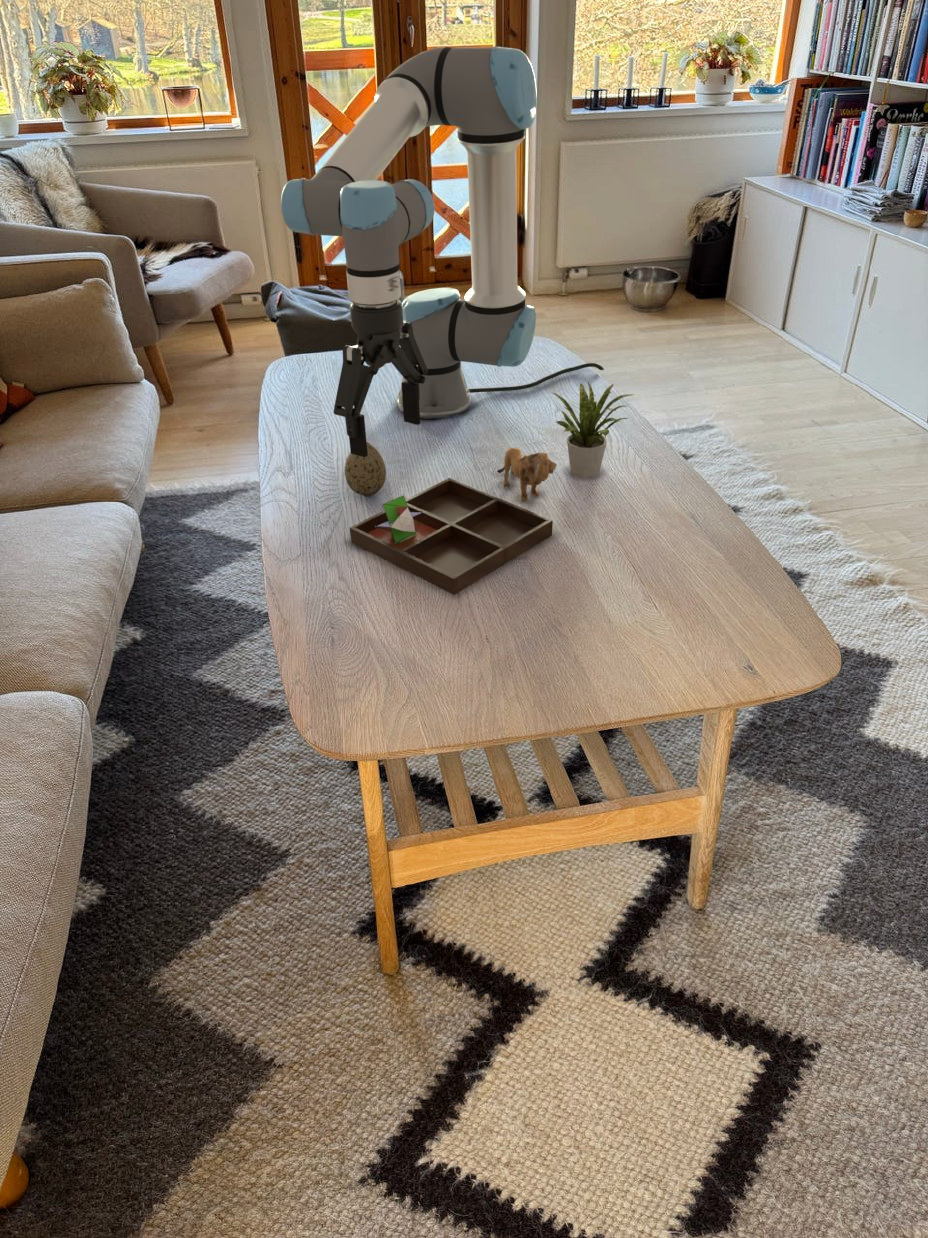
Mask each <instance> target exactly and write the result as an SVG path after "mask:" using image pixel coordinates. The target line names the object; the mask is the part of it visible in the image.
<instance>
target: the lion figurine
mask: <svg viewBox="0 0 928 1238" xmlns="http://www.w3.org/2000/svg"><path fill="white" fill-rule="evenodd" d="M503 460H504V461H503V462H504V463H503V464H504V466H503V467H501V468H499V469H498V470H496V472H497V473H498V474H502V473H503V472H504V473H503V484H502V486H503V487H505V488H508V487H510V485H511V483H510V482H509V475H510V477H512V478H516V477H517V478H519V484H520V500H521V502H526V501H528V500H529V497H528V496H529V495H528V492H527V489H528V486H530V494H531V496H533V497H539V495H540V492H539V491H538V490H537V489H536V488H537V486H539V485H540V484H542V482H545V481H546V480H547V479H548V478H549V476H550V475H553V474H554V471H555V470H556V468H557V466H558V464H557V463H556V462H554V461H552V460H551V459H550V458H549V457H548V453H547V452H545V451H542V452H540V451H538V452H535V453H532V454H529V455H523V453H522V450H521V449H520V448H518V447H514V446H510V447H509V448H508V449H507V450H506V451H505V454H504V458H503Z"/></svg>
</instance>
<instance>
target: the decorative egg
mask: <svg viewBox="0 0 928 1238" xmlns="http://www.w3.org/2000/svg"><path fill="white" fill-rule="evenodd" d="M367 452H368V456H366V457H362V456H358V455H355V454H351V451H350V452H349V454H348V456H347V457H346V460H345V464H344V478H345V481H346V484H347V485H348V487H349V488H350V490H351V491H353V492H354V493H355V494H357V495H359V496H362V497H370V496H374V495H376V494H377V493H379V492H380V491H381V490H382V488H383V487H384V485H385V483H386V478H387V468H386V463H385V461H384V458H383V457H382V455H381V453H380V451H378V449H377V448H376V447H375V446H373V444H371V443H370V442H368V441H367Z"/></svg>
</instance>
